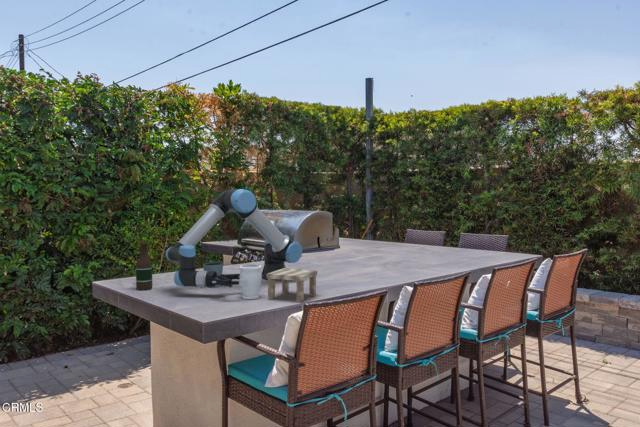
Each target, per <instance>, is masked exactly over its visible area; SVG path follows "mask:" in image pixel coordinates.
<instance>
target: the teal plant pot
mask: <svg viewBox="0 0 640 427" xmlns="http://www.w3.org/2000/svg"><path fill="white" fill-rule="evenodd" d="M202 265H203V271H207V272H208V271H215V272H216V273H217V276H219V275H221V274H223V269H224V268H223V267H224V263H223V262H218V261H217V262H216V261H214V262H205V263H203V264H202ZM221 287H222V285H216V286H215V287H207V286H206V287H205V288H210V289H211V288H214V289H216V288H221Z"/></svg>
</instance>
